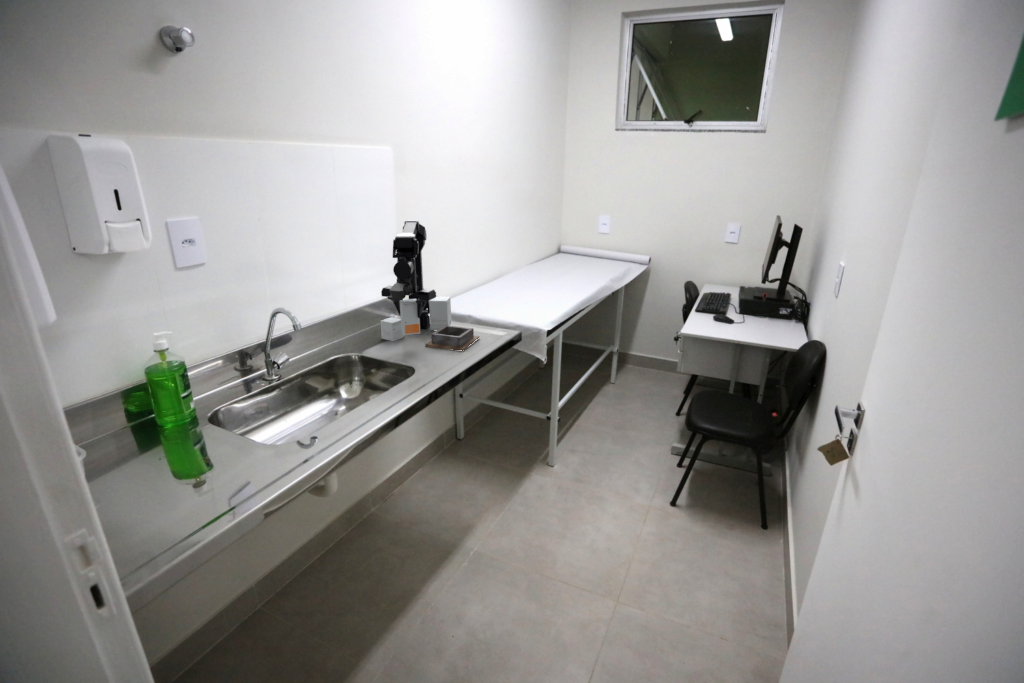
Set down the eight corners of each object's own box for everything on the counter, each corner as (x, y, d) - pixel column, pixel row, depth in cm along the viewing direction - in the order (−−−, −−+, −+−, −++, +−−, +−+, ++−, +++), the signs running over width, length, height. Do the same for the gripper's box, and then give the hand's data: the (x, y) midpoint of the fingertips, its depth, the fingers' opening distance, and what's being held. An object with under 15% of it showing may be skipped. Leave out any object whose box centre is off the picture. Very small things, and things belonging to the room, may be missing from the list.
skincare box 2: (404, 336, 177) (401, 302, 173) (401, 332, 181) (398, 300, 177) (421, 333, 179) (418, 301, 175) (418, 330, 183) (416, 298, 179)
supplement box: (452, 326, 208) (451, 296, 204) (448, 331, 201) (447, 301, 197) (434, 325, 208) (433, 295, 204) (430, 331, 201) (428, 300, 197)
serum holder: (425, 346, 184) (424, 334, 183) (444, 334, 197) (443, 323, 196) (463, 351, 179) (462, 339, 178) (479, 338, 193) (479, 327, 191)
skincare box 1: (393, 341, 189) (392, 323, 187) (381, 339, 192) (379, 320, 190) (404, 337, 194) (403, 318, 192) (392, 334, 197) (391, 316, 195)
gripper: (370, 275, 169) (374, 320, 174) (419, 279, 163) (422, 325, 168) (388, 269, 179) (391, 312, 184) (435, 273, 173) (437, 317, 178)
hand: (410, 316), depth 178 cm, fingers closed on skincare box 2, 7 cm apart
